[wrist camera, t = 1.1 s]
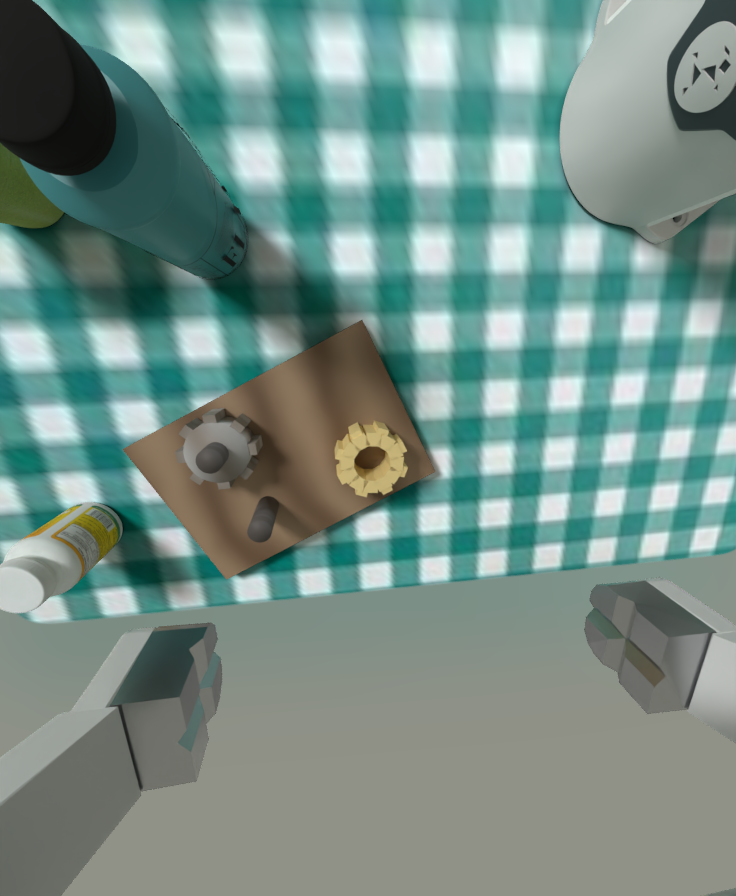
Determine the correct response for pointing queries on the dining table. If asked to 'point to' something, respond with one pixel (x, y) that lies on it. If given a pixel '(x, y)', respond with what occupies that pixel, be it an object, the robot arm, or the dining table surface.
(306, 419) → the gear board
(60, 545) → the supplement bottle
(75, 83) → the beverage bottle
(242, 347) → the dining table surface
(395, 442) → the loose gear
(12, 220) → the plant pot
